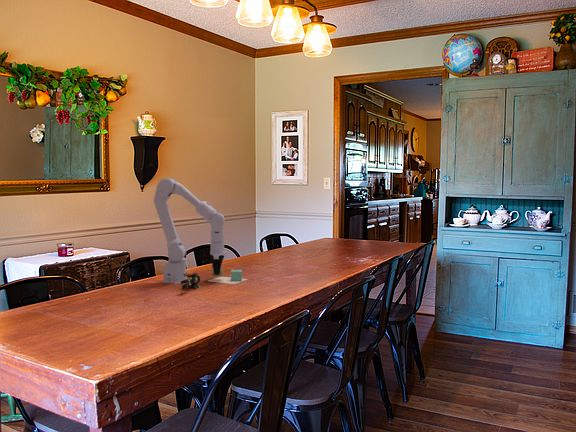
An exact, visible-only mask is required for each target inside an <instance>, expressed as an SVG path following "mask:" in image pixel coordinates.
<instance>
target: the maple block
mask: <svg viewBox="0 0 576 432" xmlns="http://www.w3.org/2000/svg"><path fill="white" fill-rule="evenodd" d="M223 275H224V264H222V265H221V269H220V274H219V275H214V271H213V266H211V277H224V276H223Z"/></svg>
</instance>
